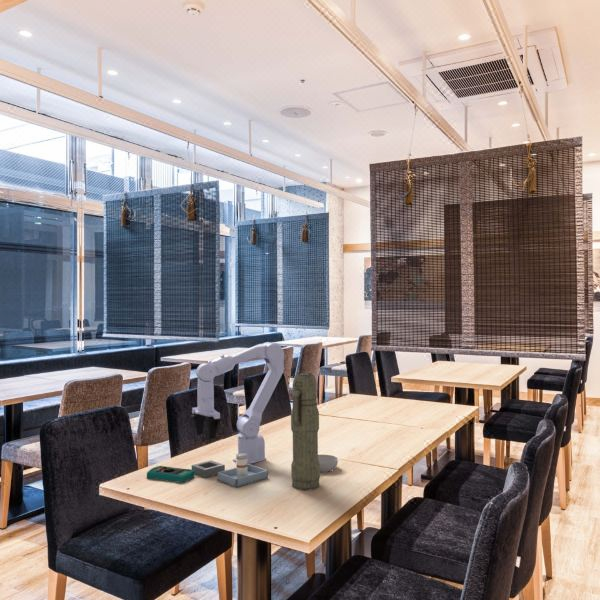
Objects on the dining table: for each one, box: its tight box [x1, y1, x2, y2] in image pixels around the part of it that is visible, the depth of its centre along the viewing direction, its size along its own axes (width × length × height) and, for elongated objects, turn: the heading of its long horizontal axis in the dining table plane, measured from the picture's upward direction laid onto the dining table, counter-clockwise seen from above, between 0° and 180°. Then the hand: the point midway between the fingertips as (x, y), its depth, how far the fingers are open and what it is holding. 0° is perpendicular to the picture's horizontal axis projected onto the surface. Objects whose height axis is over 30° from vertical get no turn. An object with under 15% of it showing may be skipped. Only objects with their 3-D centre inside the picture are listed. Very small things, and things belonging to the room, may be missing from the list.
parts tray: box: [216, 464, 269, 489], centre depth 177 cm, size 13×10×2 cm
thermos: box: [290, 372, 321, 491], centre depth 171 cm, size 9×12×35 cm
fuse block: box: [191, 459, 226, 479], centre depth 185 cm, size 8×8×3 cm
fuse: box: [235, 453, 248, 479], centre depth 177 cm, size 4×4×8 cm
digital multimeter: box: [146, 465, 196, 483], centre depth 180 cm, size 7×15×3 cm, turn 68°
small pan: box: [318, 454, 339, 473], centre depth 190 cm, size 11×18×4 cm, turn 48°
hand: (205, 436), depth 193 cm, fingers open, 7 cm apart
